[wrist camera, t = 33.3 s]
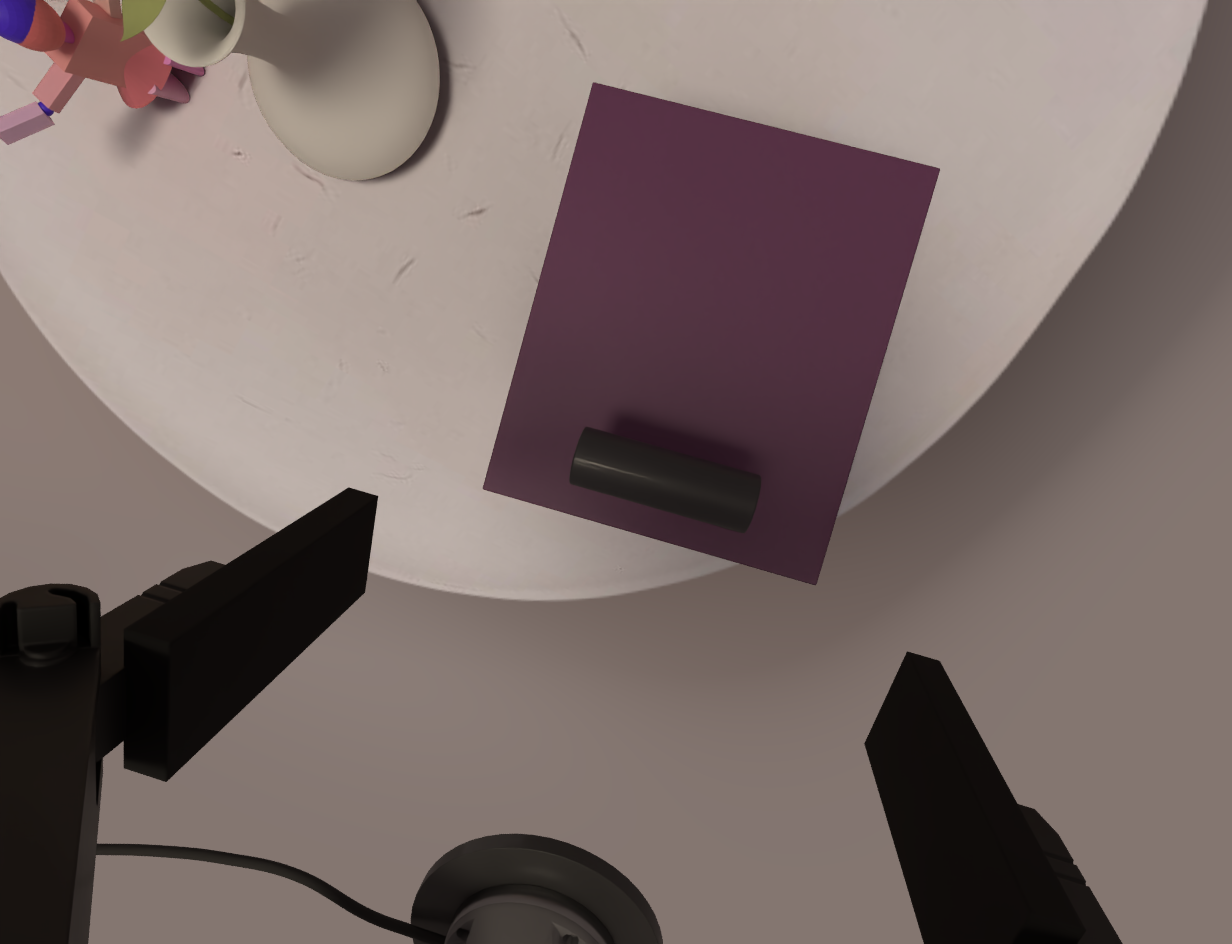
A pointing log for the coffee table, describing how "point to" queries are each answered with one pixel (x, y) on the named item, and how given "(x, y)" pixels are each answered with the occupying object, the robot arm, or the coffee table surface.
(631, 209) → the lid
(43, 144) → the coffee table surface
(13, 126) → the figurine
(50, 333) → the coffee table surface
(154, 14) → the flower in vase
